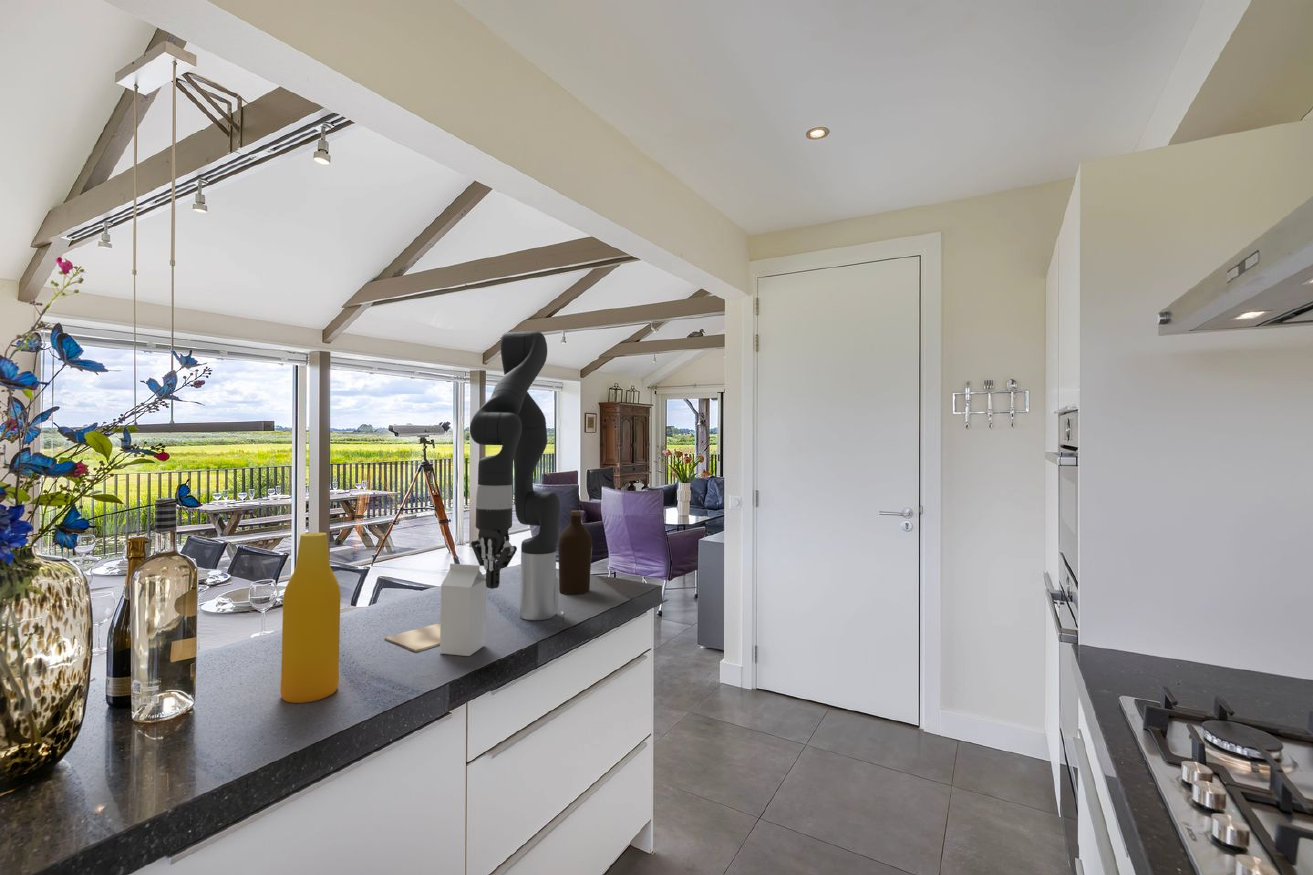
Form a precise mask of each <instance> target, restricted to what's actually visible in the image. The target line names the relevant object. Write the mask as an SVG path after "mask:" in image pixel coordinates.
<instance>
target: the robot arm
mask: <svg viewBox="0 0 1313 875" xmlns="http://www.w3.org/2000/svg"><path fill="white" fill-rule="evenodd" d="M499 344H500V347H499V348H500V357H501V362H502V363H501V364H502V369H503V375H502V377H501V378H500V379H499V380H498V381H497V383H496V385H495V387H494V389H493V391H492V394H491V396H490V399H488V400H487V401H486V402H485V403H483V405H482V406H481V407H480V408H479V409H478V410H477V411H476V412H475V414H474V415H473V417H472V419H471V421H470V423H469V424H470V425H469V434H470V437H471V439H472V441H473V442H474V443H476V444H477V445H481V446H482V445H483V446H501V449H500V450H499V452H498V453H497V454H494V455H490V456H484V457H481V458H480V459H479V461H478V465H477V470H478V471H477V490H476V494H475V495H476V497H475V498H476V499H475V528H476V529H478V530H479V532H478V538H477V539H476V540H473V541H471V543H470V546H471V548H472V551H473V553H474V555H475V557H476V560H477V562H478V565H479V566H480V567H483V569H484V570H485V579H486V589H487V588H488V589H492V590H493V589H498V588H499V587H500V583H501V582H500V578H501V570H502V569H505V568H506V569H507V567H508V566H509V564H510V562H511V561H512V559H513V557H514V555H516V552H517V551H518V547H517V546H516V545H512V544H511V542H510V539H511V538H510V535H509V530H510V529H511V528H512V527H513V509H515V511H514V512H515V517H516V519H517V521H518V522H519V523H520V524H521V525H524V526H536V527H537V526H538V527H539V531H538V533H537V534H536V535H534V536H532V537H529V538H525V539H524V540H522V541H521V545H520V548H521V549H520V592H519V599H520V600H519V617H520V618H521V619H523V620H527V621H542V620H543V621H544V620H549V619H553V618H554V616H556V615H557V614H559V577H557V576H556V575H557V546H558V540H559V527H560V526H559V525H560V516H561V515H560V513H561V511H560V509H561V504H560V499H559V496H558V494H557V493H556V492H553V491H543V490H534V481H533V480H534V473H535V470H536V467H537V465H538V463H540V462H539V461H541V458H542V456H543V454H544V452H545V451H546V448H547V445H548V431H547V430H548V429H547V421H546V416H545V414H544V412H543V410H542V408H540V406H539V404H538V403H537V402H536V401H535V400H534V398H533V397H532V396H531V394H530V393H529V389H530V387H531V386H532V385H533V382H534V381H535V380H536V379H537V377H538V375H539V374H540V372H541V371H542V369H543V367H544V366H545V363H546V362H547V359H548V344H547V340H546V337H545V335H544V334H543V333H542V332H540V331H536V330H529V331H528V330H524V331H509V332H505V333H503V334H502V335H501V338H500V343H499ZM513 466H514V468H513ZM513 469H514V495H513ZM513 496H514V497H513ZM513 500H514V501H513ZM513 502H514V507H515V508H513Z"/></svg>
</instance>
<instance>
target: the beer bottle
mask: <svg viewBox="0 0 1313 875" xmlns="http://www.w3.org/2000/svg"><path fill="white" fill-rule="evenodd" d="M327 534H328V533H326V532H309V533H308V532H307V533H302V534H300V538H299V543H298V548H297V556H296V563H295V569H294V571H293V573H292V575H291V577H290V578H289V580H288V582H287V584H286V586H285V588H284V593H283V598H282V625H281V626H282V629H281V632H282V633H281V634H282V635H281V638H282V639H281V667H280V668H281V670H280V671H281V673H280V675H281V676H280V691H279V692H280V696H281V698H282V700H283V701H285V702H287V703H293V704H304V703H311V702H317V701H319V700H322V699H325V698H328V697H330V696H331V695H333V694H334V693H336V692H337V690H338V687H339V683H340V633H341V631H340V629H341V627H340V626H341V601H342V600H341V597H342V596H341V594H342V593H341V588H340V584H339V581H338V579H337V578H336V575H335V573H334V571H333V569H332V568H331V563H330V562H331V561H330V553H329V543H328V535H327Z"/></svg>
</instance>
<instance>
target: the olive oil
mask: <svg viewBox="0 0 1313 875" xmlns="http://www.w3.org/2000/svg"><path fill="white" fill-rule="evenodd" d="M569 519H570V521H569V524H568V525H567V526H566V527H565V528H564V529H563V530H562V532H560V534H559V535H558V540H557V551H558V552H557V553H558V593H560V594H564V595H570V596H571V595H572V596H574V595H575V596H576V595H577V596H578V595H584V594H587V593H589V592H590V586H591V583H590V582H591V571H592V570H591V569H592V555H593V554H592V553H593V538H592V535H591V533H590V532H589V530H588V529H587V528H586V527H585V526H584V525H583V524H582V510H571V511H570V518H569Z"/></svg>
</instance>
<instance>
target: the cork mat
mask: <svg viewBox="0 0 1313 875" xmlns="http://www.w3.org/2000/svg"><path fill="white" fill-rule="evenodd" d="M440 623H441V622H438V623H434V624H429V625H427V626H424V627H423V626H422V627H419V628H415V629H412V630H411V629H410V630H407V631H403V632H399V633H396V634H392V635H388V636H385V637H384V638H383V639H384V640H385V641H387V642H390V643H392V644H395V645H397V646H399V647H401V648H404V649H406V650H408V651H411V652H413V653H417V652H421V651H425V650H428V649H432V648H435V647H438V646H439V647H440Z"/></svg>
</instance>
